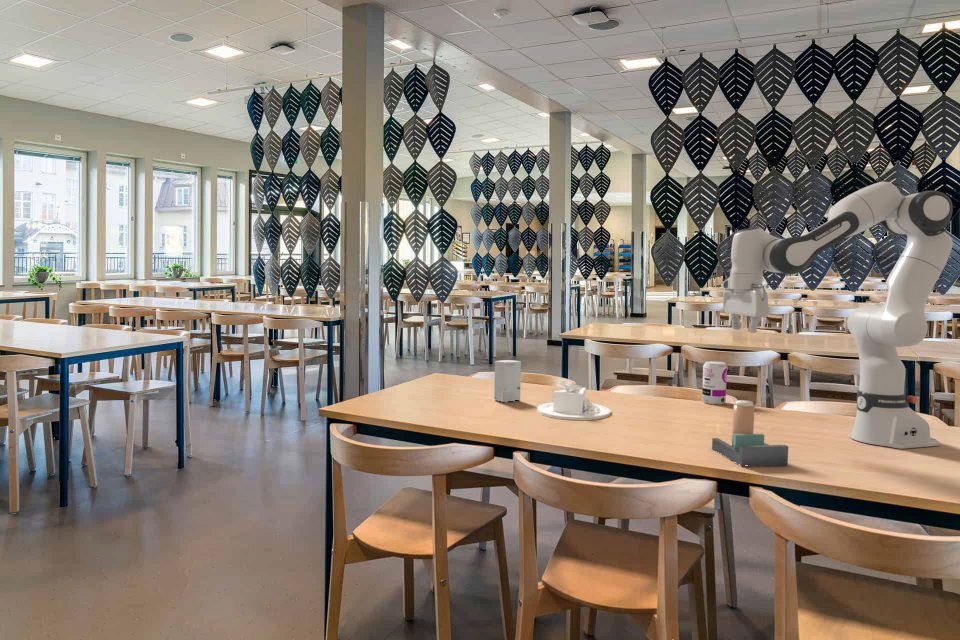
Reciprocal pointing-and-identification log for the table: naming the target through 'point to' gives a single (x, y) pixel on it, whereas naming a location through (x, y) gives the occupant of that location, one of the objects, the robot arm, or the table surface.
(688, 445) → the table surface
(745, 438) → the block
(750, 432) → the slim pink can
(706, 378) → the supplement can
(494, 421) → the table surface
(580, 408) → the dish
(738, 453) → the grey open tray
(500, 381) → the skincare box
